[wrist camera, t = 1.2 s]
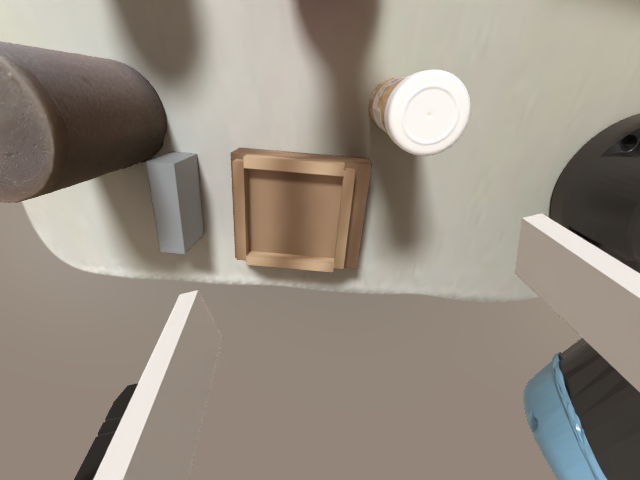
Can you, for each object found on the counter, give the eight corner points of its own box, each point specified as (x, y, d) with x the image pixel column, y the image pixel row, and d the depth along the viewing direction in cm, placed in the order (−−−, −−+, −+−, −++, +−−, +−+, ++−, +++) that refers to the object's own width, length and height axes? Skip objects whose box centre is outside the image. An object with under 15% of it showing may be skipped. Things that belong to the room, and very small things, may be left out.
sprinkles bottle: (405, 68, 28) (456, 50, 16) (424, 115, 30) (484, 132, 18) (359, 95, 29) (374, 98, 17) (380, 140, 31) (407, 171, 19)
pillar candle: (178, 160, 33) (66, 206, 19) (89, 167, 34) (-80, 215, 20) (150, 53, 29) (-15, 13, 15) (50, 62, 30) (-194, 33, 16)
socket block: (368, 158, 32) (373, 167, 28) (355, 255, 36) (357, 274, 33) (239, 147, 32) (226, 155, 28) (242, 245, 37) (232, 263, 33)
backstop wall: (196, 153, 32) (173, 163, 28) (203, 233, 36) (184, 254, 32) (172, 151, 32) (145, 161, 28) (182, 231, 36) (160, 251, 32)
